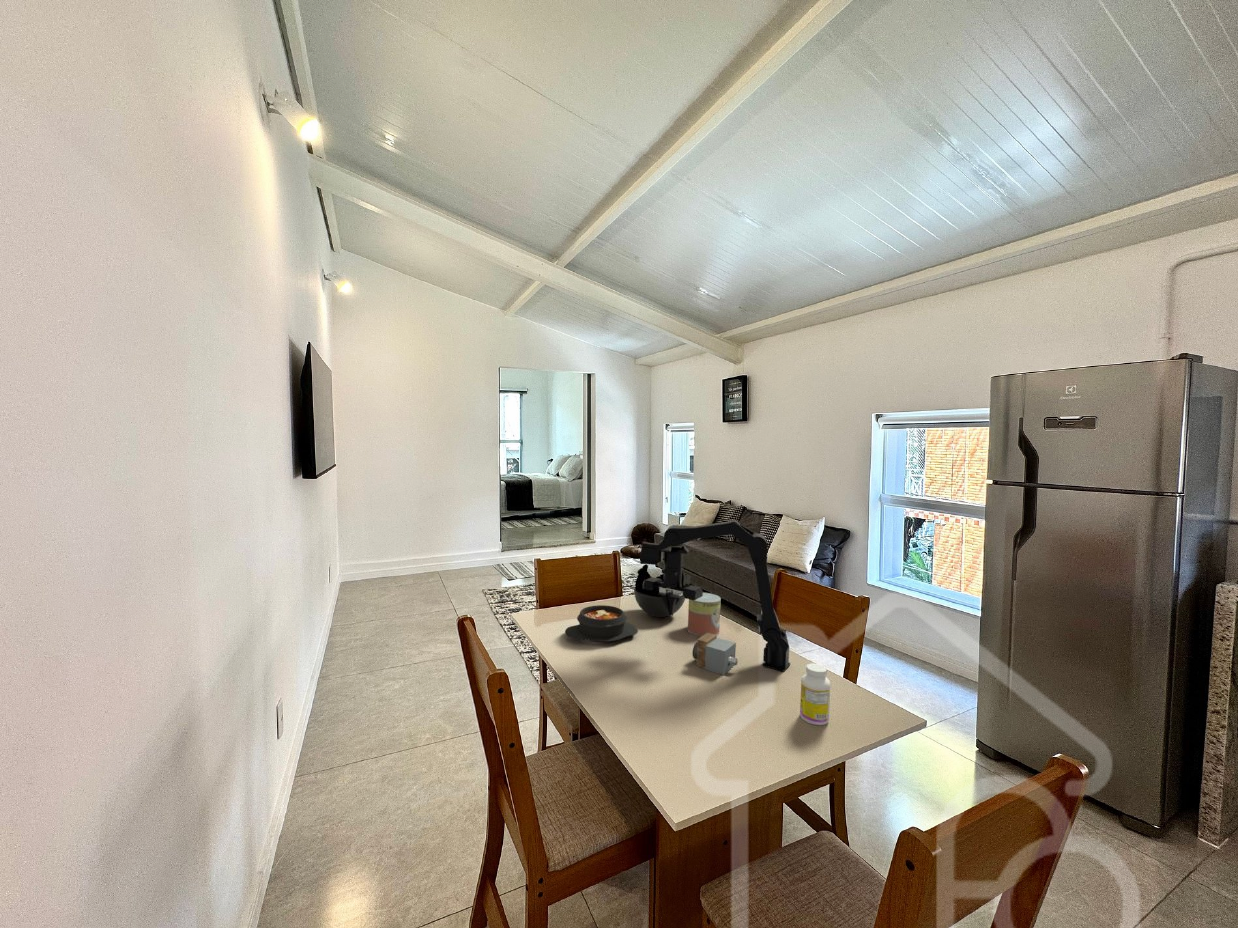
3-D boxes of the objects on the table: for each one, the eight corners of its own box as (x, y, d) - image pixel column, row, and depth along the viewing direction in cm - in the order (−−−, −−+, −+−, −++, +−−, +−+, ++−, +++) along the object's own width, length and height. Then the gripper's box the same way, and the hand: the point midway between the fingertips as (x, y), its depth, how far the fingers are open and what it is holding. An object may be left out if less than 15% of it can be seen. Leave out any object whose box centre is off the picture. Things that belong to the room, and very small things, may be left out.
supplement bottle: (805, 708, 129) (807, 658, 128) (832, 718, 124) (834, 666, 124) (795, 719, 123) (798, 667, 123) (823, 729, 119) (826, 676, 119)
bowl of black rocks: (696, 619, 191) (698, 570, 190) (653, 628, 181) (654, 576, 180) (664, 604, 208) (666, 558, 207) (623, 611, 198) (624, 564, 197)
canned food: (710, 639, 172) (711, 604, 172) (681, 630, 179) (682, 597, 179) (725, 629, 181) (726, 596, 181) (697, 622, 188) (698, 590, 188)
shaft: (739, 667, 150) (740, 650, 150) (732, 673, 146) (733, 656, 146) (699, 655, 158) (700, 639, 157) (692, 661, 153) (692, 644, 153)
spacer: (715, 660, 155) (716, 634, 155) (705, 668, 150) (706, 641, 149) (706, 657, 157) (707, 632, 157) (696, 665, 151) (697, 639, 151)
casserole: (571, 650, 160) (571, 624, 160) (560, 629, 178) (560, 605, 177) (645, 643, 167) (646, 618, 167) (627, 623, 185) (628, 600, 185)
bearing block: (734, 665, 152) (735, 642, 152) (724, 674, 146) (724, 651, 146) (716, 659, 156) (717, 637, 156) (705, 669, 149) (705, 645, 149)
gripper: (711, 566, 161) (709, 614, 161) (660, 557, 171) (658, 602, 172) (695, 573, 152) (693, 624, 152) (642, 563, 162) (641, 611, 163)
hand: (671, 614), depth 160 cm, fingers closed
